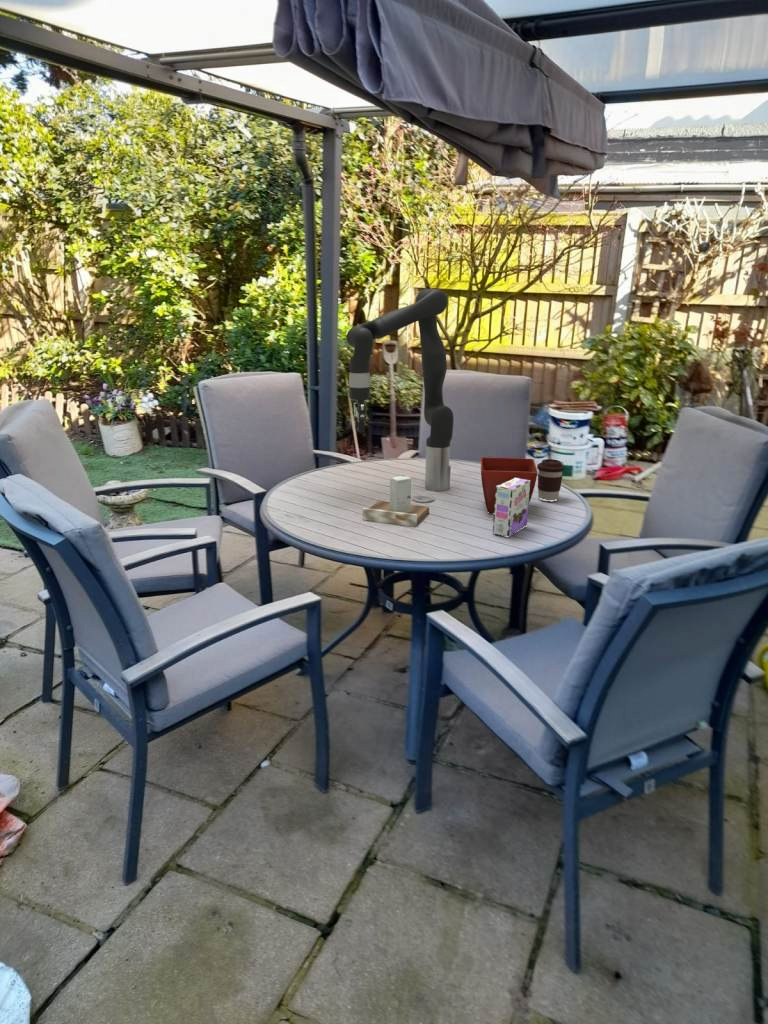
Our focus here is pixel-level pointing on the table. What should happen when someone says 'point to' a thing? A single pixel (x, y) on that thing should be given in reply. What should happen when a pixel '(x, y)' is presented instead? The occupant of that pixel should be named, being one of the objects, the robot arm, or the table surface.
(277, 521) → the table surface
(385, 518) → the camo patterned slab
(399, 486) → the skincare box
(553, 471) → the coffee cup
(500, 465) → the plant pot
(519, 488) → the candy box
